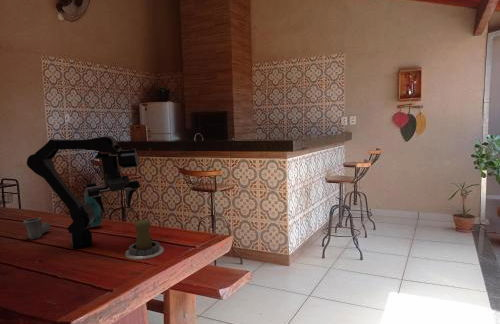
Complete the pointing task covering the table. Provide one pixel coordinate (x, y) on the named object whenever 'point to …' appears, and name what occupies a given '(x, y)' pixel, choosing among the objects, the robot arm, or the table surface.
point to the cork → (143, 235)
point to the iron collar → (144, 251)
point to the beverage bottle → (94, 207)
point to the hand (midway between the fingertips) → (116, 210)
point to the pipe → (36, 227)
